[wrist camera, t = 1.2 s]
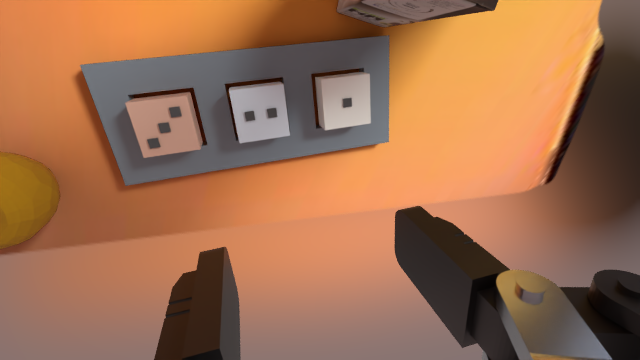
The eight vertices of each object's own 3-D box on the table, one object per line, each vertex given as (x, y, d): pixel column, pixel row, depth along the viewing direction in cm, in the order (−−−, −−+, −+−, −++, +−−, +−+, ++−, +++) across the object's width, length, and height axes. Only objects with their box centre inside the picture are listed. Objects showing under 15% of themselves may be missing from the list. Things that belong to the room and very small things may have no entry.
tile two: (280, 81, 33) (283, 84, 30) (286, 129, 35) (290, 136, 32) (229, 87, 32) (228, 90, 29) (239, 136, 34) (239, 143, 31)
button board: (382, 35, 35) (389, 35, 34) (383, 138, 40) (388, 141, 38) (87, 64, 29) (79, 64, 28) (130, 179, 34) (125, 185, 33)
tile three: (190, 92, 31) (186, 95, 28) (202, 142, 33) (200, 149, 30) (133, 98, 30) (124, 103, 27) (150, 149, 32) (143, 158, 29)
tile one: (360, 71, 34) (370, 73, 32) (362, 118, 36) (371, 123, 34) (315, 77, 33) (321, 79, 31) (319, 124, 35) (325, 130, 33)
